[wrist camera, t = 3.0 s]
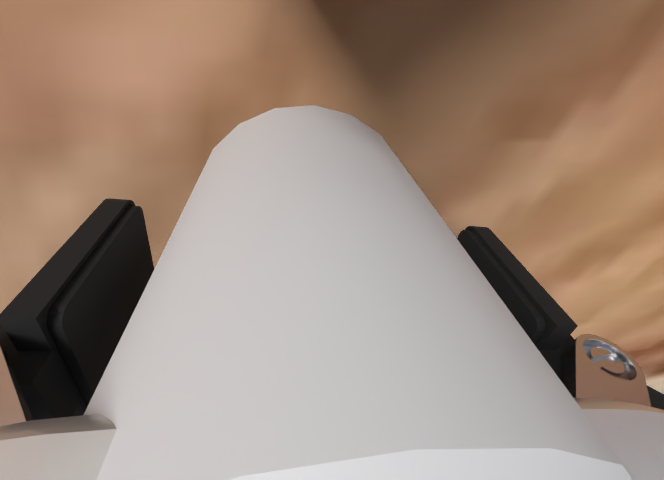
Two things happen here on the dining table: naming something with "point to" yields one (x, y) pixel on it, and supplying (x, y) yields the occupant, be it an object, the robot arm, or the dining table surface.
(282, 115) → the can
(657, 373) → the dining table surface
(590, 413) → the robot arm
